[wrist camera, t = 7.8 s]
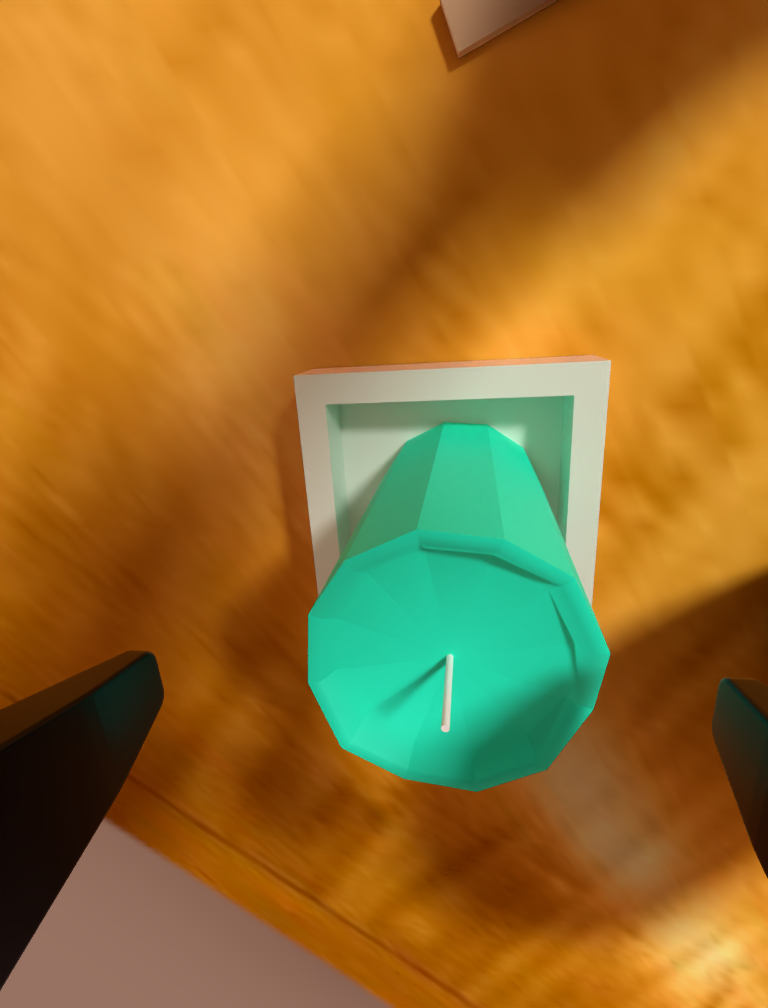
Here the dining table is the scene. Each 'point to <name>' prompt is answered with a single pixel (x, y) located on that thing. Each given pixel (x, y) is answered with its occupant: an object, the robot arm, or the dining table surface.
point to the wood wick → (485, 19)
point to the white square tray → (458, 399)
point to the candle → (456, 620)
